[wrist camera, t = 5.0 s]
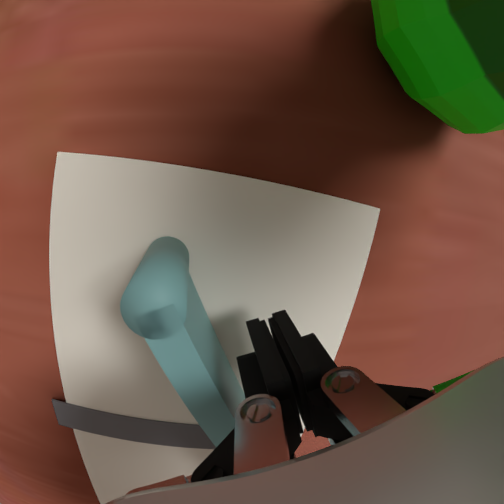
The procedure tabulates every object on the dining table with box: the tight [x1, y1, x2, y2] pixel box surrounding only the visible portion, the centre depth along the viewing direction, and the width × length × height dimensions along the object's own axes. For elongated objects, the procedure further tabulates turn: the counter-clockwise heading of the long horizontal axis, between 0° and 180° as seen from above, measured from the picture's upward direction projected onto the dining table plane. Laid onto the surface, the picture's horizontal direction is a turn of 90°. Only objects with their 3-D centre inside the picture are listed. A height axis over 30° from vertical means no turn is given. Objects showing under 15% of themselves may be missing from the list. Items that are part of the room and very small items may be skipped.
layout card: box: [49, 152, 380, 504], centre depth 16 cm, size 31×16×1 cm, turn 168°
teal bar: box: [120, 236, 245, 447], centre depth 12 cm, size 15×2×5 cm, turn 18°
